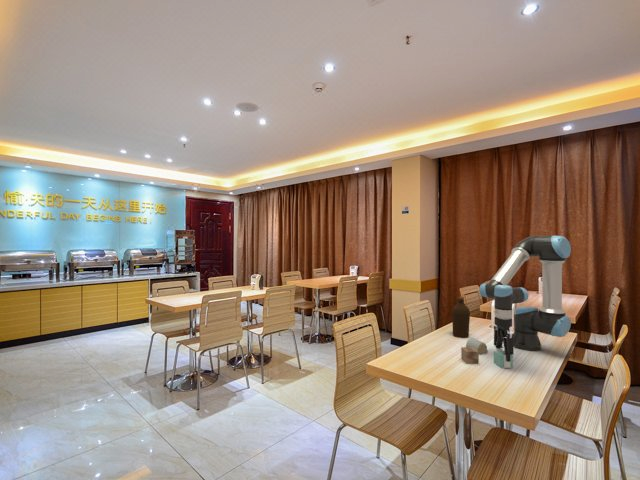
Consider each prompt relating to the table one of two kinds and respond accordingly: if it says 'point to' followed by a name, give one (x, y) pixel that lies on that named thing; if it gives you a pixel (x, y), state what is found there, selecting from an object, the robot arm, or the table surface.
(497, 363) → the teal block
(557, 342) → the table surface
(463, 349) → the walnut block
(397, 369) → the table surface
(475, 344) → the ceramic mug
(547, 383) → the table surface
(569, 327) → the robot arm
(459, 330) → the olive oil
